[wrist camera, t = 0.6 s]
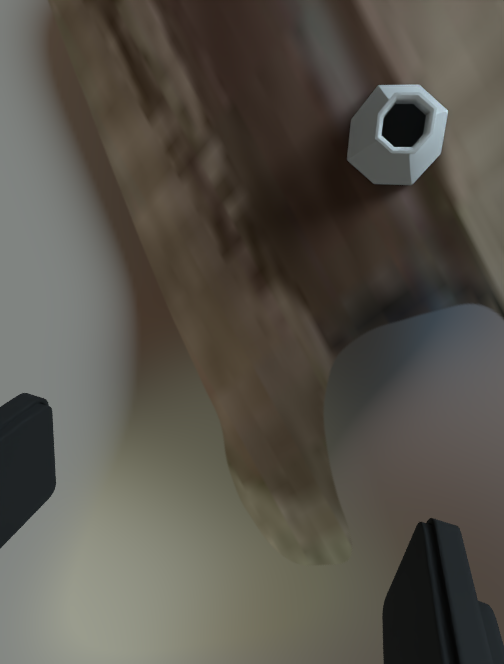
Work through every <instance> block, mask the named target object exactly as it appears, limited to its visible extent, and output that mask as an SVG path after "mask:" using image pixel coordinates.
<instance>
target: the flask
mask: <svg viewBox="0 0 504 664" xmlns="http://www.w3.org/2000/svg"><path fill="white" fill-rule="evenodd" d="M447 115H448V110H447V109H446V108H444V107H443V106H442V105H441V104H440V103H439V102H438V101H437V100H436V99H434V98H433V97H432V96H431V95H430V94H429V93H428V92H427V91H426V90H424V89H423V88H422V87H421V86H420V85H419V84H418V85H378V86H377V87H376V89H375V90H374V91H373V92H372V94H371V95H370V96H369V97H368V99H367V100H366V101H365V103H364V104H363V105H362V106H361V108H360V109H359V110H358V111H357V113H356V114H355V115H354V117H353V118H352V119H351V124H350V134H349V144H348V154H347V161H349V162H350V163H351V164H352V165H353V166H354V167H355V168H356V169H358V170H359V171H360V172H361V173H362V174H363V175H364V176H365V177H367V178H368V179H369V180H370V181H371V182H372V183H373V184H391V185H412V184H413V183H414V182H415V181H416V180H417V179H418V178H419V177H420V176H421V174H422V173H423V172H424V171H425V170H426V169H427V168H428V167H429V166H430V165H431V164H432V163H433V162H434V160H435V159H436V158H437V157H438V156H439V155H440V154H441V149H442V143H443V138H444V132H445V126H446V121H447Z"/></svg>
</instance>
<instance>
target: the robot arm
mask: <svg viewBox="0 0 504 664" xmlns="http://www.w3.org/2000/svg"><path fill="white" fill-rule="evenodd" d="M55 485H56V476H55V456H54V437H53V419H52V408H51V407H50V406H49V405H48V402H47V400H46V399H44V398H40V397H37V396H34V395H31V394H28V393H22V394H20V395H18V396H16V397H15V398H13V399H12V400H10V401H9V402H7V403H6V404H4V405H3V406H1V407H0V548H1V547H2V546H3V545H4V544H5V543H6V542H7V541H8V540H9V539H10V538H11V537H12V536H13V535H14V534H15V533H16V532H17V531H18V530H19V529H20V528H21V527H22V526H23V525H24V524H25V522H26V521H27V520H28V519H29V518H30V517H31V516H32V515H33V514H34V513H35V512H36V511H37V510H38V509H39V508H40V507H41V506H42V505H43V504H44V503H45V502H46V501H47V500H48V499H49V498H50V496H51V495H52V493H53V492H54V489H55ZM383 651H384V652H383V654H384V664H504V645H503V642H502V639H501V635H500V631H499V627H498V624H497V621H496V618H495V615H494V612H493V610H492V609H491V607H490V606H489V605H488V604H485V603H482V602H480V601H478V600H477V596H476V592H475V587H474V584H473V579H472V575H471V571H470V567H469V563H468V559H467V555H466V551H465V547H464V543H463V539H462V535H461V532H460V529H459V528H458V526H456V525H452V524H449V523H446V522H442V521H439V520H436V519H433V518H430V519H429V520H428V521H427V523H423V522H419V523H418V525H417V526H416V529H415V531H414V533H413V536H412V538H411V540H410V543H409V545H408V547H407V549H406V552H405V554H404V556H403V559H402V561H401V564H400V566H399V568H398V570H397V573H396V575H395V578H394V580H393V582H392V584H391V586H390V589H389V591H388V593H387V596H386V598H385V601H384V606H383Z"/></svg>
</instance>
